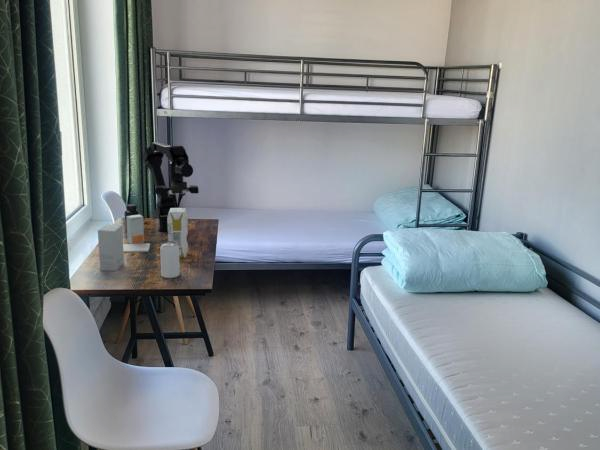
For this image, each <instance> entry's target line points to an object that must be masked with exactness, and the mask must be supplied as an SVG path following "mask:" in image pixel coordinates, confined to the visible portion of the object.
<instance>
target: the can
mask: <svg viewBox="0 0 600 450" xmlns="http://www.w3.org/2000/svg"><path fill="white" fill-rule="evenodd" d="M177 244H178V243H177V242H173V241H168V240H167V241H164V242H161V245H160V248H159V250H160V251H159V252H160V271H161V273H160V274H161V277H162V278H165V279H174V278H175V279H176V278H178V277H179V276H180V273H181V271H180V270H181V267H180V258H179V246H178V245H177Z"/></svg>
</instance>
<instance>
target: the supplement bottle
mask: <svg viewBox="0 0 600 450" xmlns="http://www.w3.org/2000/svg"><path fill="white" fill-rule="evenodd" d="M125 206H126V207H125V208H126V210H125V211H124V228H125V231H126V232H127V219H126V216H132V215H141V213H140V210H138V204H137V203H129V204H126V205H125Z"/></svg>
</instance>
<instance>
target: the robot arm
mask: <svg viewBox="0 0 600 450" xmlns="http://www.w3.org/2000/svg"><path fill="white" fill-rule="evenodd" d="M164 156H165V157H166V158H168V161H167V163H168V164H169V187H167V185H166V182H165V178H164V176H163V175H164V174H163V172H162V164H163V158H164ZM142 161H143V162H144V164H145V167H146V168H148V170H149V171H150V173H151V177H152V181H153V184H154V187H155V188H154V189H155V190H154V192H155V195H157V202H156V208H155V209H154V212H153V215H154V218H155V219H157V220H158V225H159V226H158V228H157V229H158V232H168V224H167V217H168V213H169V211H170V208H180V205H181V201H182V199H183V197H184V196H186V194H187V193H186V192H189V193H191V194H199V193H200V192H199V186H198V185H194V184H193V185H189V186H188V183H187V181H184V178H189V177H191V176H192V175H193V174H194V168H193V166H192V165H191V164H190V159H189V156H188V154H187V150H186V148H185V147H184V146H183V145H170V144H167V143H164V142H161V141H156V142H155V141H154V142H151V144H150V145H149V146H148V147H147V148H146V149H145V150H144V151H143V153H142ZM177 194H178V197H177Z"/></svg>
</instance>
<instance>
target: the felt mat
mask: <svg viewBox="0 0 600 450" xmlns="http://www.w3.org/2000/svg"><path fill="white" fill-rule="evenodd" d="M150 247H151V243H149V242H148V243H145V242H144V243H139V244H129V243H123V252H124V253H144V252H150Z"/></svg>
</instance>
